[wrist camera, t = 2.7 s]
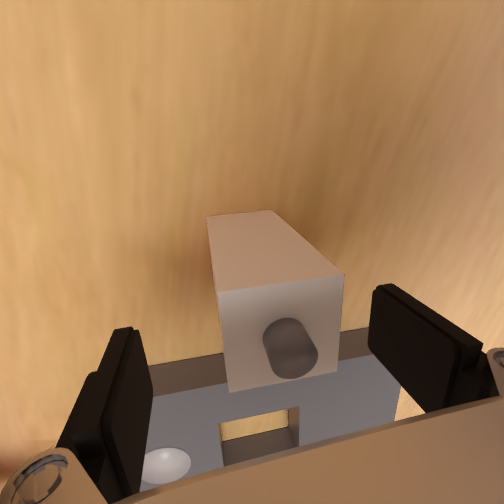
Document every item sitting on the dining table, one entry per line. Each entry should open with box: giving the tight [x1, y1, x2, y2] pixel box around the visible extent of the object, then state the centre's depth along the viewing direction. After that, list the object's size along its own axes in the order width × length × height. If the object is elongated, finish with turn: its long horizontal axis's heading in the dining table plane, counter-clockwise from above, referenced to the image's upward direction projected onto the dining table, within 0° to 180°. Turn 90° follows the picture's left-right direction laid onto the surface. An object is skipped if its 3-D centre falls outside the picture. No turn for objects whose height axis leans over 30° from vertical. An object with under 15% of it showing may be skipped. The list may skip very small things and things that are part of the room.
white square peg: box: [206, 210, 345, 393], centre depth 14 cm, size 4×4×11 cm
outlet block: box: [140, 327, 401, 492], centre depth 24 cm, size 24×14×3 cm, turn 93°
